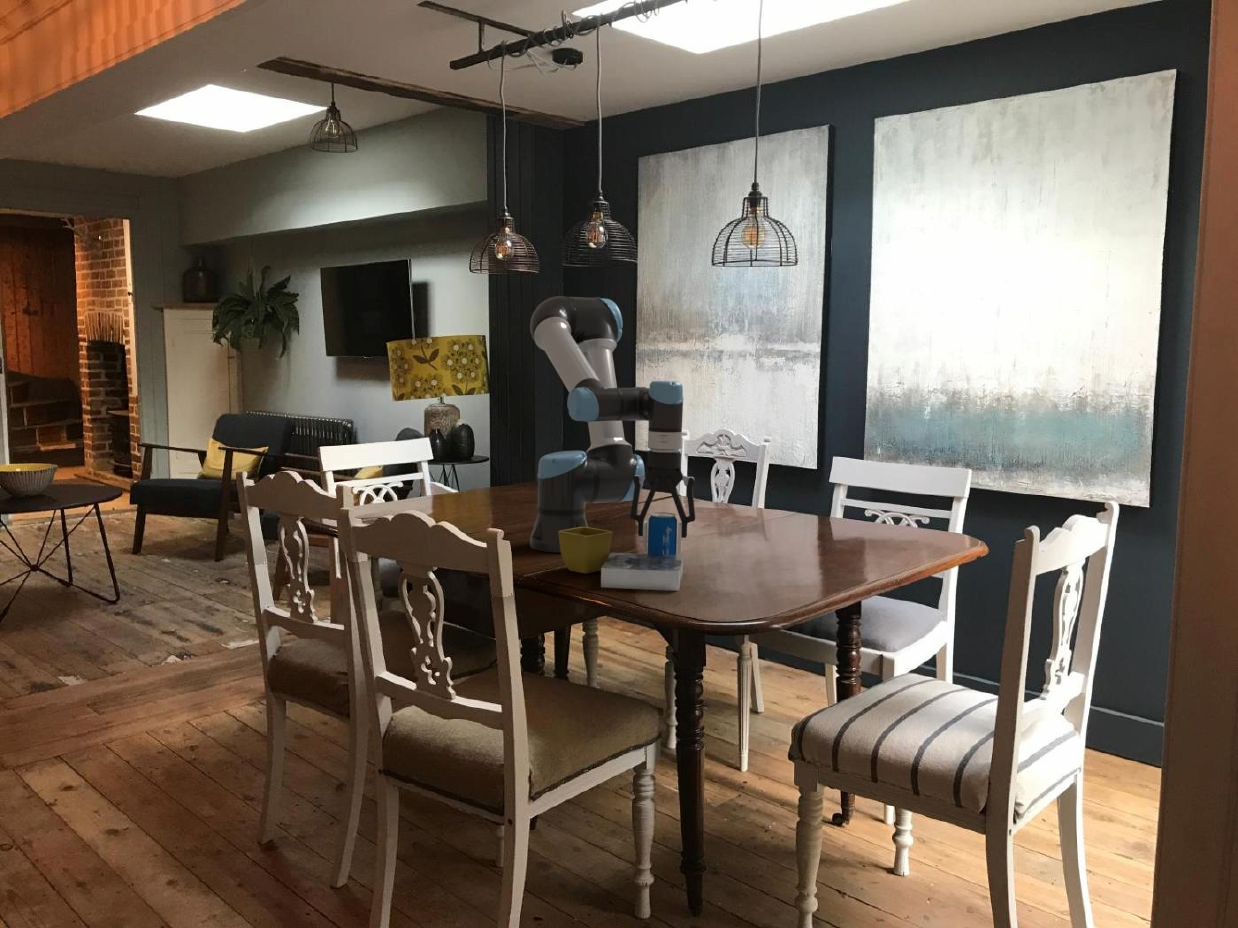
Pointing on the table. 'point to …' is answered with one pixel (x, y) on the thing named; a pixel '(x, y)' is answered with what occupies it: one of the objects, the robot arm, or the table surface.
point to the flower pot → (585, 548)
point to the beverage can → (662, 533)
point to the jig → (642, 571)
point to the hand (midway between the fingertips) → (662, 550)
